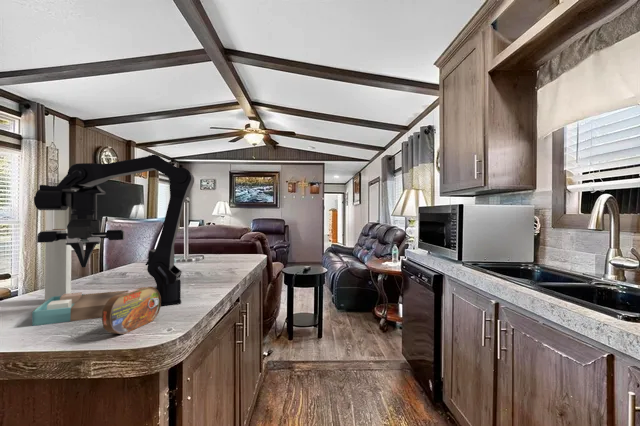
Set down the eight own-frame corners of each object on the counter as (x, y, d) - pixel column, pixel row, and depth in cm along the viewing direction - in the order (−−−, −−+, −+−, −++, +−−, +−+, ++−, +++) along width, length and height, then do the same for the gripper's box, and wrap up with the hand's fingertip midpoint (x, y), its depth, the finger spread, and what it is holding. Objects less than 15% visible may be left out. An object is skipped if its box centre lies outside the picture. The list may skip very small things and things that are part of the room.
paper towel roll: (49, 299, 97) (50, 228, 97) (73, 297, 99) (74, 228, 99) (39, 305, 90) (40, 229, 90) (65, 303, 92) (66, 229, 93)
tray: (83, 305, 90) (83, 293, 90) (70, 321, 76) (70, 307, 76) (51, 308, 87) (51, 296, 87) (32, 325, 73) (32, 311, 73)
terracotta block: (81, 299, 89) (81, 292, 89) (78, 302, 85) (79, 295, 85) (63, 301, 87) (63, 293, 87) (60, 304, 83) (60, 297, 83)
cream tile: (71, 307, 81) (71, 299, 81) (68, 311, 78) (68, 302, 78) (51, 309, 79) (51, 301, 79) (46, 313, 76) (47, 305, 76)
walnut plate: (128, 300, 96) (128, 290, 96) (124, 314, 81) (124, 302, 81) (83, 305, 90) (83, 294, 90) (70, 321, 76) (70, 308, 76)
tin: (111, 340, 65) (111, 298, 65) (98, 339, 65) (98, 297, 65) (162, 317, 79) (162, 283, 80) (151, 316, 80) (151, 283, 80)
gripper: (30, 209, 76) (29, 274, 76) (121, 210, 85) (121, 268, 85) (43, 210, 86) (43, 268, 86) (124, 210, 95) (124, 263, 95)
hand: (84, 267), depth 88 cm, fingers closed
